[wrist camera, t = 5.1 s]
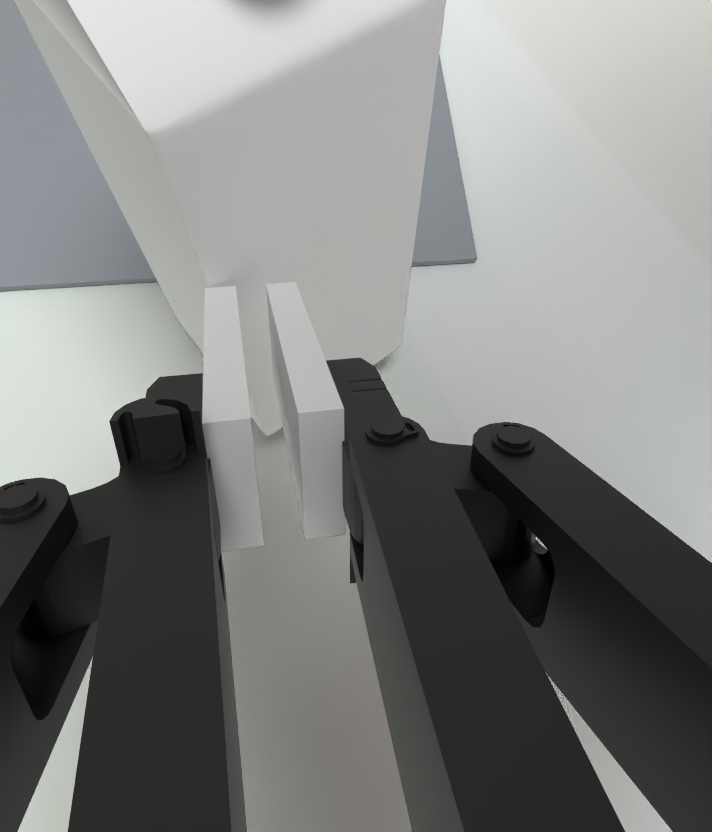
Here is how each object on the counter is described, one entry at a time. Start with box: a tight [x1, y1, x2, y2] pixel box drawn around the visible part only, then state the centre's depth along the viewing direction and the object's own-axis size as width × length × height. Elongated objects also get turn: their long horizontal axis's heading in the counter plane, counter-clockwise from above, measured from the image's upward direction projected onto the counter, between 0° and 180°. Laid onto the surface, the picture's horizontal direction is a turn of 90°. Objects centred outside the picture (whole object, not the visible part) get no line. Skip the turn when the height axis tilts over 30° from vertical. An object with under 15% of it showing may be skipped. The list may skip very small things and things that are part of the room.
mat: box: [0, 0, 477, 291], centre depth 30 cm, size 22×17×1 cm
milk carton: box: [14, 0, 446, 436], centre depth 18 cm, size 7×7×19 cm
